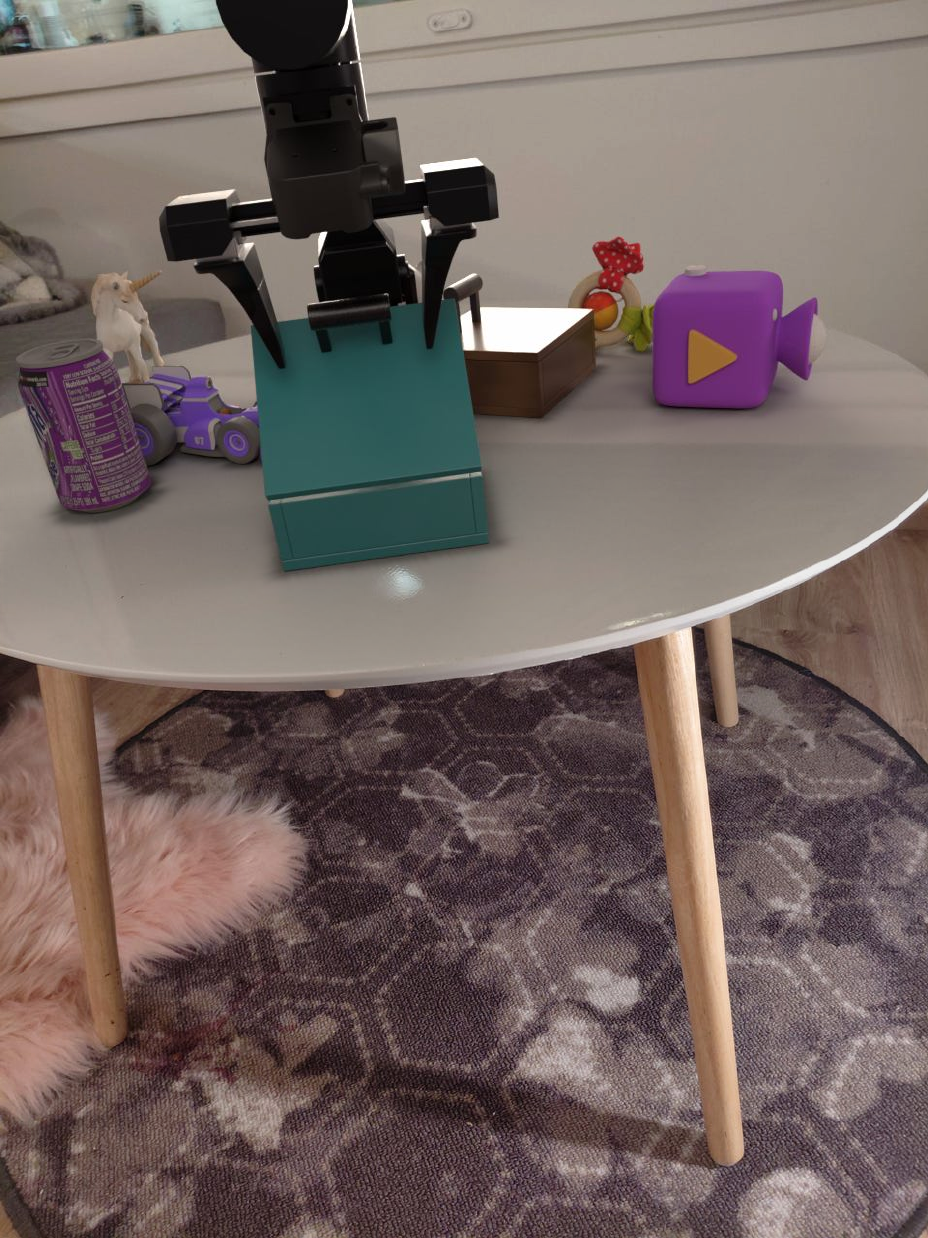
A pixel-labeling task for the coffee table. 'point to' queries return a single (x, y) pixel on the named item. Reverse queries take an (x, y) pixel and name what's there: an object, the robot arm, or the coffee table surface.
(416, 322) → the lid
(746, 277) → the toy camera
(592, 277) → the bird rattle
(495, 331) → the lid
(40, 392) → the beverage can
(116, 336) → the unicorn figurine
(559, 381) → the box
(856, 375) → the coffee table surface
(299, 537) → the teal box
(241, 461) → the toy race car
